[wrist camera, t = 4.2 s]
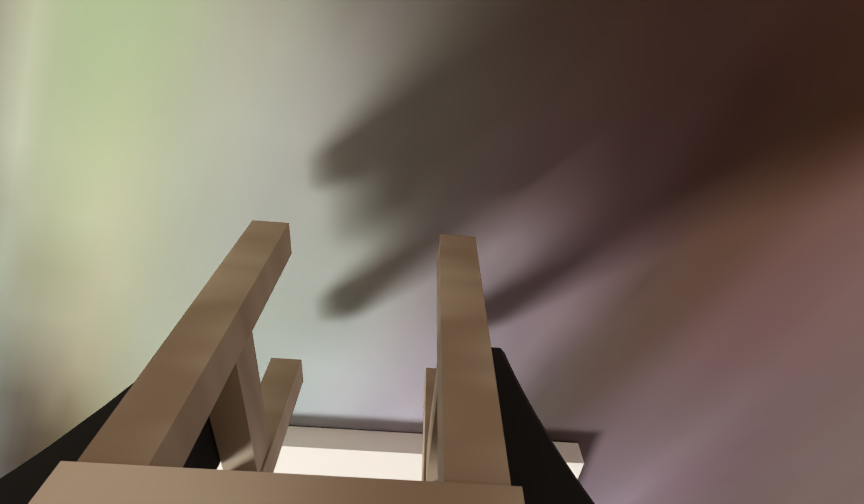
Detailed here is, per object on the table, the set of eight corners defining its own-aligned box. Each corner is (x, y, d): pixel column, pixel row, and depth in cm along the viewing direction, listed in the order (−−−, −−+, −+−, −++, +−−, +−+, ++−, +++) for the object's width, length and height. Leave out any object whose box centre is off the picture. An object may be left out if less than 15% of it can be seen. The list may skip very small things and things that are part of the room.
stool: (480, 233, 10) (538, 585, 4) (455, 392, 13) (471, 743, 7) (247, 215, 10) (-15, 557, 4) (271, 381, 13) (130, 732, 7)
